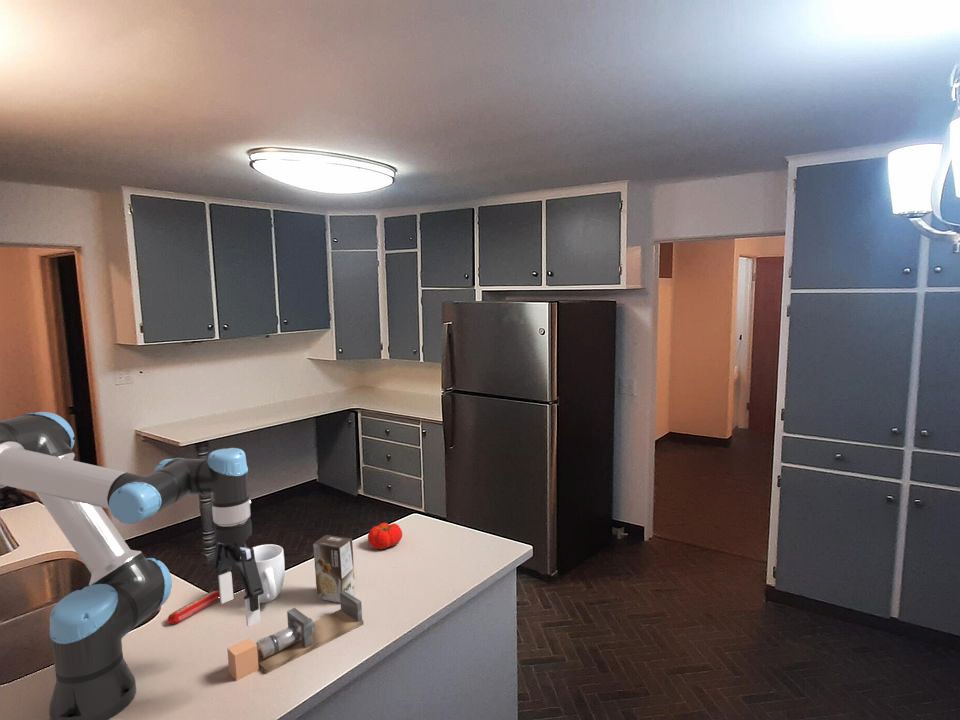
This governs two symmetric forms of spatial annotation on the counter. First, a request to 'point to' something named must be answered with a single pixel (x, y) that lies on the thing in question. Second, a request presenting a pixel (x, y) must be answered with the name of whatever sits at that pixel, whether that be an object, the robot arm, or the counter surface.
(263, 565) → the mug
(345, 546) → the coffee box
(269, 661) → the rail
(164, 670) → the counter surface
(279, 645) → the shaft
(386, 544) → the tomato
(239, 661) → the block
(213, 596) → the candy bar
